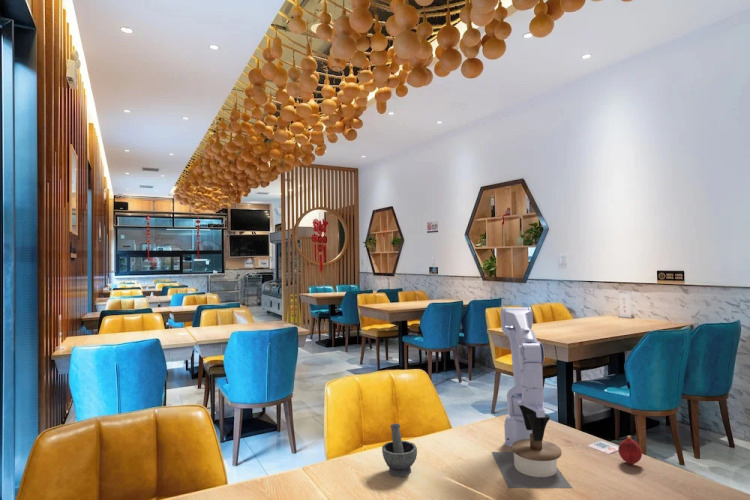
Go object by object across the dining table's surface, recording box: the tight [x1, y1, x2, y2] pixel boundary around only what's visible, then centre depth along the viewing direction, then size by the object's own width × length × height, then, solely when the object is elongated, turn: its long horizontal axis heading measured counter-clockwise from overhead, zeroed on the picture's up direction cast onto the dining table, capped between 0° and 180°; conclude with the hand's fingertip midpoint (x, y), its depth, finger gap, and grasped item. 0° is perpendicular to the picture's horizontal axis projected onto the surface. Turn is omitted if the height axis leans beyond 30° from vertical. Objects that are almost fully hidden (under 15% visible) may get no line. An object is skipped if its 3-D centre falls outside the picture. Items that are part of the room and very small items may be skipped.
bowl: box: [514, 453, 558, 478], centre depth 126 cm, size 11×11×5 cm
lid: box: [511, 433, 562, 461], centre depth 126 cm, size 13×13×4 cm
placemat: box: [491, 451, 573, 489], centre depth 126 cm, size 16×22×1 cm
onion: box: [618, 435, 643, 466], centre depth 127 cm, size 6×6×8 cm
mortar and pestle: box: [381, 423, 418, 478], centre depth 127 cm, size 11×9×12 cm
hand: (534, 434), depth 126 cm, fingers open, 7 cm apart
